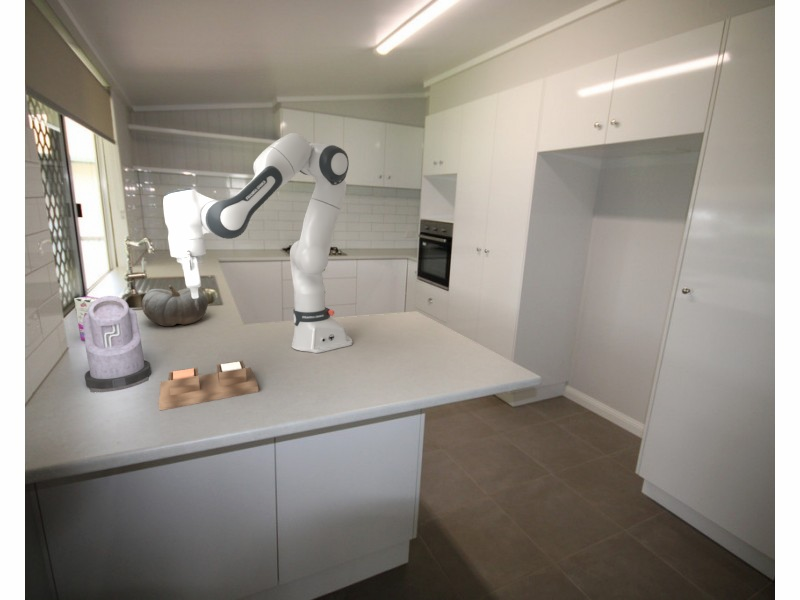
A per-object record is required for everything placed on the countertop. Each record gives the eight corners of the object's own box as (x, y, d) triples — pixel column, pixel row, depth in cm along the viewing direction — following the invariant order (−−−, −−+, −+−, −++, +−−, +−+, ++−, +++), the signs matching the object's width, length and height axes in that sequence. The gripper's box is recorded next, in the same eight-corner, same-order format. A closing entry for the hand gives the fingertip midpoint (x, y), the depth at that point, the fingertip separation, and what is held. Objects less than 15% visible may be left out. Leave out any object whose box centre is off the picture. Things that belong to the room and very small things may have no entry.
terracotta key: (194, 378, 113) (193, 368, 112) (195, 385, 108) (194, 374, 108) (174, 381, 110) (173, 371, 110) (174, 388, 106) (172, 378, 105)
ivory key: (240, 371, 118) (239, 361, 118) (242, 377, 114) (241, 367, 113) (221, 374, 116) (220, 364, 115) (223, 380, 112) (222, 370, 111)
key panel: (250, 373, 124) (249, 355, 123) (258, 391, 112) (257, 371, 111) (161, 388, 113) (159, 368, 112) (159, 410, 101) (156, 388, 100)
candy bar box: (113, 340, 151) (107, 298, 147) (99, 344, 146) (92, 301, 142) (94, 336, 155) (87, 295, 151) (80, 340, 150) (72, 298, 147)
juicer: (153, 383, 116) (142, 302, 111) (84, 397, 107) (68, 309, 102) (147, 352, 140) (138, 284, 135) (90, 361, 131) (77, 288, 126)
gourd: (130, 316, 173) (134, 277, 170) (189, 314, 193) (193, 279, 190) (155, 334, 158) (160, 292, 156) (216, 330, 178) (221, 292, 176)
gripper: (202, 252, 103) (210, 304, 107) (198, 244, 121) (205, 289, 124) (174, 254, 100) (183, 307, 104) (175, 246, 118) (182, 292, 121)
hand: (195, 297), depth 114 cm, fingers closed
